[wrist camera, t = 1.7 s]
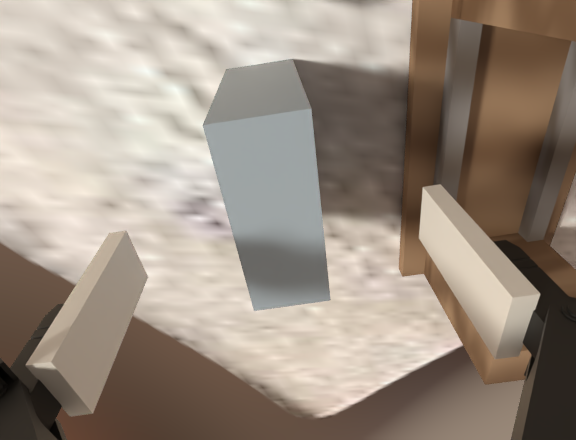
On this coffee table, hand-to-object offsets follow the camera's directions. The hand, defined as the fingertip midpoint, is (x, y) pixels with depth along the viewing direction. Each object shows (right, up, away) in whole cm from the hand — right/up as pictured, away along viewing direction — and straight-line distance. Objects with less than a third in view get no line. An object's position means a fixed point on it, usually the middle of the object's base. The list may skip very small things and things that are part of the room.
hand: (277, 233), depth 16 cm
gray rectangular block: (-1, +6, +8) cm, 10 cm away
